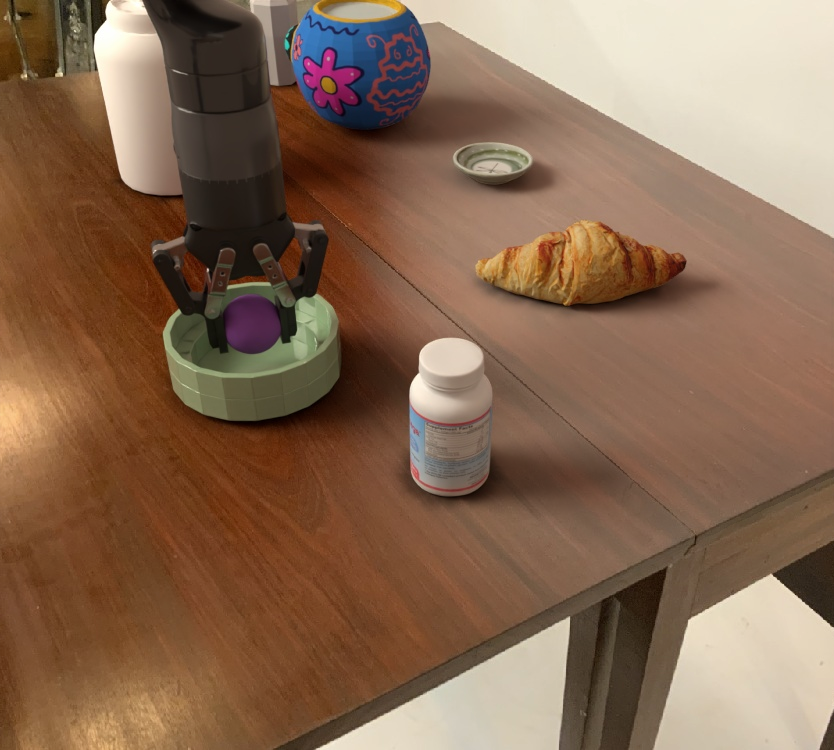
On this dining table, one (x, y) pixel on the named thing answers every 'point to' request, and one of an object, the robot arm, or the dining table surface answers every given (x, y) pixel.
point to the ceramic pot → (360, 61)
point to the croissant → (581, 266)
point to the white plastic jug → (137, 98)
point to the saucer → (492, 162)
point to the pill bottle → (450, 418)
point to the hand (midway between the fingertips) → (254, 342)
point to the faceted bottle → (277, 36)
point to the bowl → (255, 363)
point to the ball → (251, 324)
